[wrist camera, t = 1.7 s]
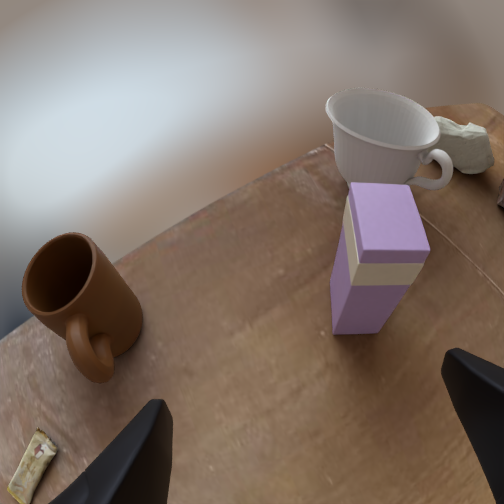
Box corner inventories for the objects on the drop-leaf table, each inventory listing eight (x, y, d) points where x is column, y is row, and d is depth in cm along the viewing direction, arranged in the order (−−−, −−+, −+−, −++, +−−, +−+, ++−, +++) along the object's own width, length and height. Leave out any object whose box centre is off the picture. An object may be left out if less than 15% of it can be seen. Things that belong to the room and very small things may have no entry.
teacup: (390, 260, 29) (421, 185, 21) (299, 175, 37) (300, 101, 29) (451, 211, 32) (481, 145, 24) (367, 144, 40) (377, 80, 32)
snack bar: (26, 510, 15) (2, 491, 15) (31, 506, 16) (8, 487, 16) (58, 447, 19) (33, 426, 20) (64, 444, 21) (39, 424, 21)
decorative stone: (479, 137, 38) (507, 116, 29) (472, 188, 39) (503, 177, 29) (421, 112, 41) (440, 84, 31) (412, 164, 41) (432, 144, 32)
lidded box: (378, 333, 25) (432, 251, 15) (331, 335, 25) (362, 251, 16) (372, 280, 28) (409, 184, 18) (329, 280, 28) (349, 181, 19)
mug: (178, 381, 24) (130, 342, 16) (105, 417, 22) (36, 392, 14) (130, 277, 30) (88, 215, 23) (71, 310, 29) (17, 258, 21)
